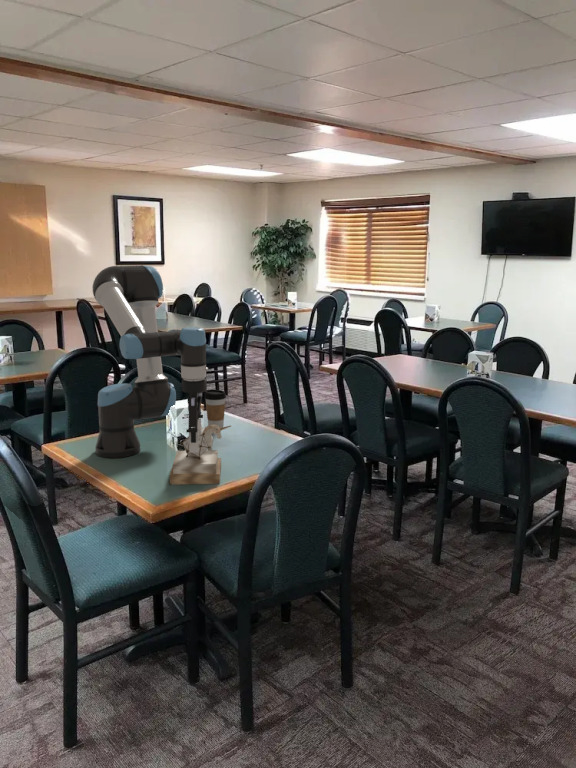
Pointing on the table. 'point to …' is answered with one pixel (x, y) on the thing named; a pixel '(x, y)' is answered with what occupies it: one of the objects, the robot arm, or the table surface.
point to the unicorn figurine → (209, 431)
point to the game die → (201, 443)
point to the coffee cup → (215, 407)
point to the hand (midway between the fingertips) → (195, 445)
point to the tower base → (196, 477)
